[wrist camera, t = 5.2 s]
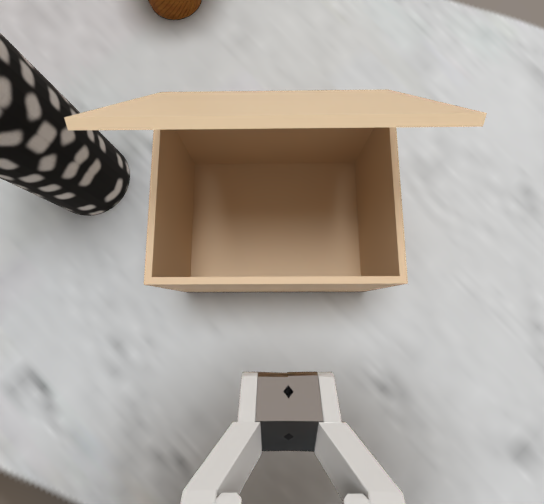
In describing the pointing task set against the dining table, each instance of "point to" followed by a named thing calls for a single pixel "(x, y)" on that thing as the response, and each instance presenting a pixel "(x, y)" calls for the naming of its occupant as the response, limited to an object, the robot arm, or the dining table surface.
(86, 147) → the white-spotted black cylinder
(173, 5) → the disposable coffee cup
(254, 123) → the carton flap
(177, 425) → the dining table surface
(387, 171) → the carton
